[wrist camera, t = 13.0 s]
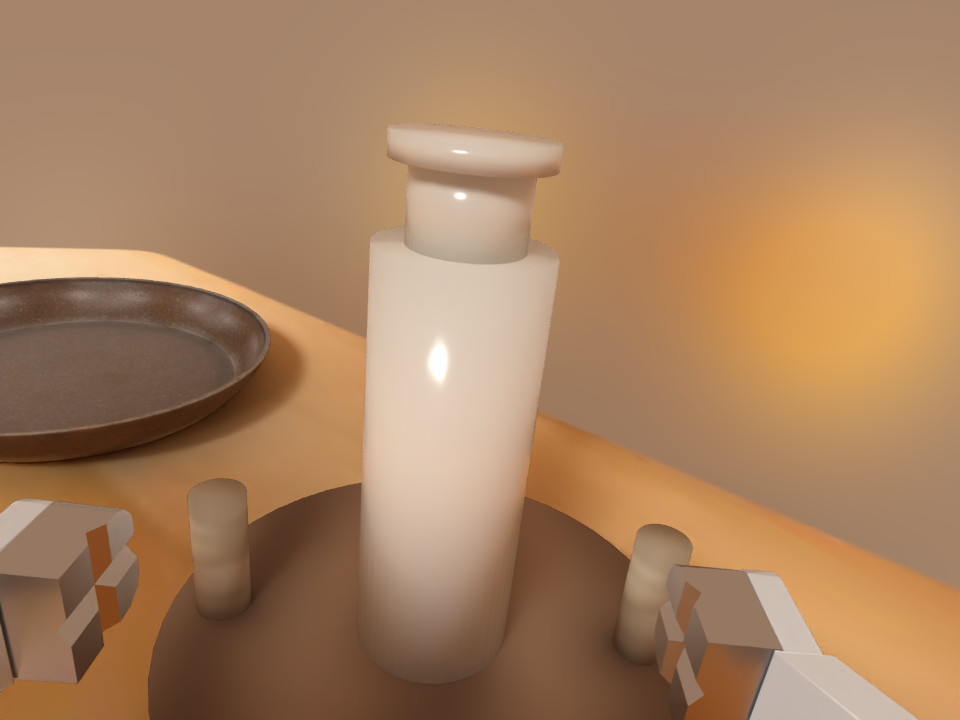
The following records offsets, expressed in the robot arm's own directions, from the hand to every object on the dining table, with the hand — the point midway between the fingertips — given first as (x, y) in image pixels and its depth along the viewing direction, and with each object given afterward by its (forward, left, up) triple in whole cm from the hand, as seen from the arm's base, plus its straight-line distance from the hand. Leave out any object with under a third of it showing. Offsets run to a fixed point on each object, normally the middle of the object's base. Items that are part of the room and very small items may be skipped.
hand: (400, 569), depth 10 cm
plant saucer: (-21, +26, -12) cm, 35 cm away
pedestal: (0, +8, -11) cm, 14 cm away
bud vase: (0, +8, -9) cm, 12 cm away
